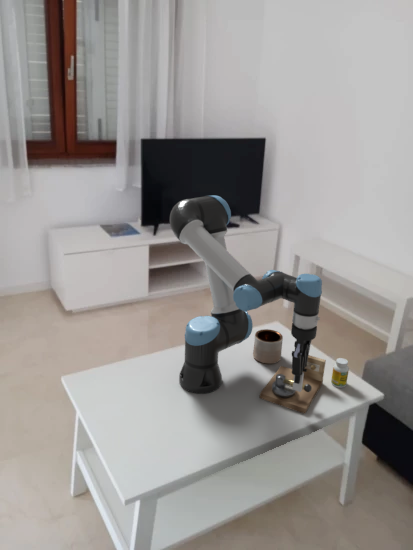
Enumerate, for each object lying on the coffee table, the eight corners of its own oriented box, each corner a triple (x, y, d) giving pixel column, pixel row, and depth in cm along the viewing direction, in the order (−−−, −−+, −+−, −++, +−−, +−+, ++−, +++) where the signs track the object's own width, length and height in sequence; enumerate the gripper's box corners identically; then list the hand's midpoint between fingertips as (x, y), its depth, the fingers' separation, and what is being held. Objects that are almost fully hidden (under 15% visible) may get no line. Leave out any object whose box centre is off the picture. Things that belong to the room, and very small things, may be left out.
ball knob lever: (268, 393, 160) (269, 379, 158) (276, 382, 166) (278, 368, 164) (306, 407, 154) (308, 392, 152) (313, 394, 160) (315, 379, 158)
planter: (282, 365, 181) (284, 343, 177) (254, 364, 181) (255, 342, 177) (278, 350, 191) (281, 329, 187) (251, 349, 191) (253, 328, 187)
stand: (259, 398, 161) (261, 372, 157) (280, 370, 177) (283, 347, 174) (305, 413, 154) (308, 388, 150) (322, 383, 170) (326, 359, 166)
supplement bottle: (337, 378, 174) (341, 355, 170) (349, 385, 170) (353, 362, 166) (327, 382, 171) (331, 359, 168) (339, 389, 167) (342, 366, 163)
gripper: (310, 335, 137) (301, 403, 146) (322, 319, 148) (314, 383, 157) (285, 329, 141) (279, 396, 149) (299, 313, 151) (292, 376, 160)
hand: (297, 389), depth 153 cm, fingers closed
